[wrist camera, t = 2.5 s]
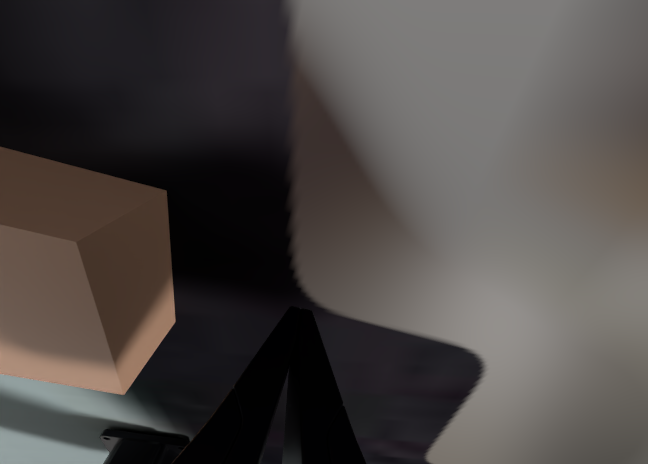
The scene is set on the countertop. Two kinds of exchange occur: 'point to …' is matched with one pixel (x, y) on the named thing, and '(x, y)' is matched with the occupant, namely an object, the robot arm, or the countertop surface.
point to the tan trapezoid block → (81, 274)
